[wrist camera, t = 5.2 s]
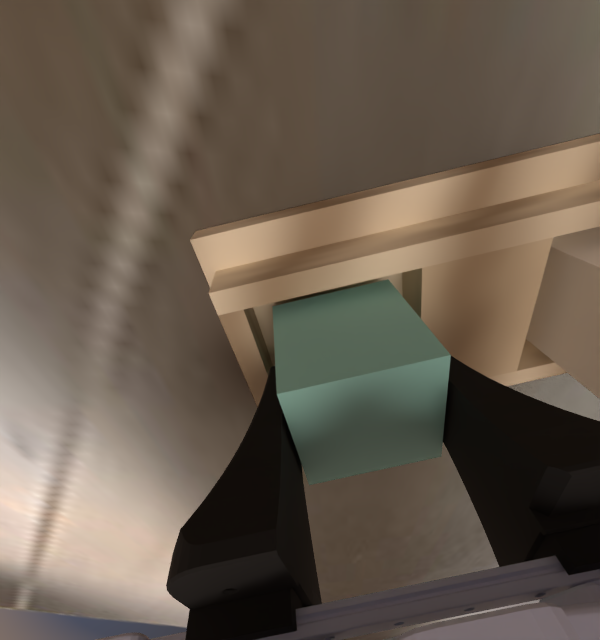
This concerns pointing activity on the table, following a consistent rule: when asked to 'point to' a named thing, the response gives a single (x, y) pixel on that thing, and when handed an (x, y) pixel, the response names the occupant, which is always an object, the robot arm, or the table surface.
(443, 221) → the assembly board
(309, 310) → the teal block
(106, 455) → the table surface
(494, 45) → the table surface
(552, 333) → the cream block
